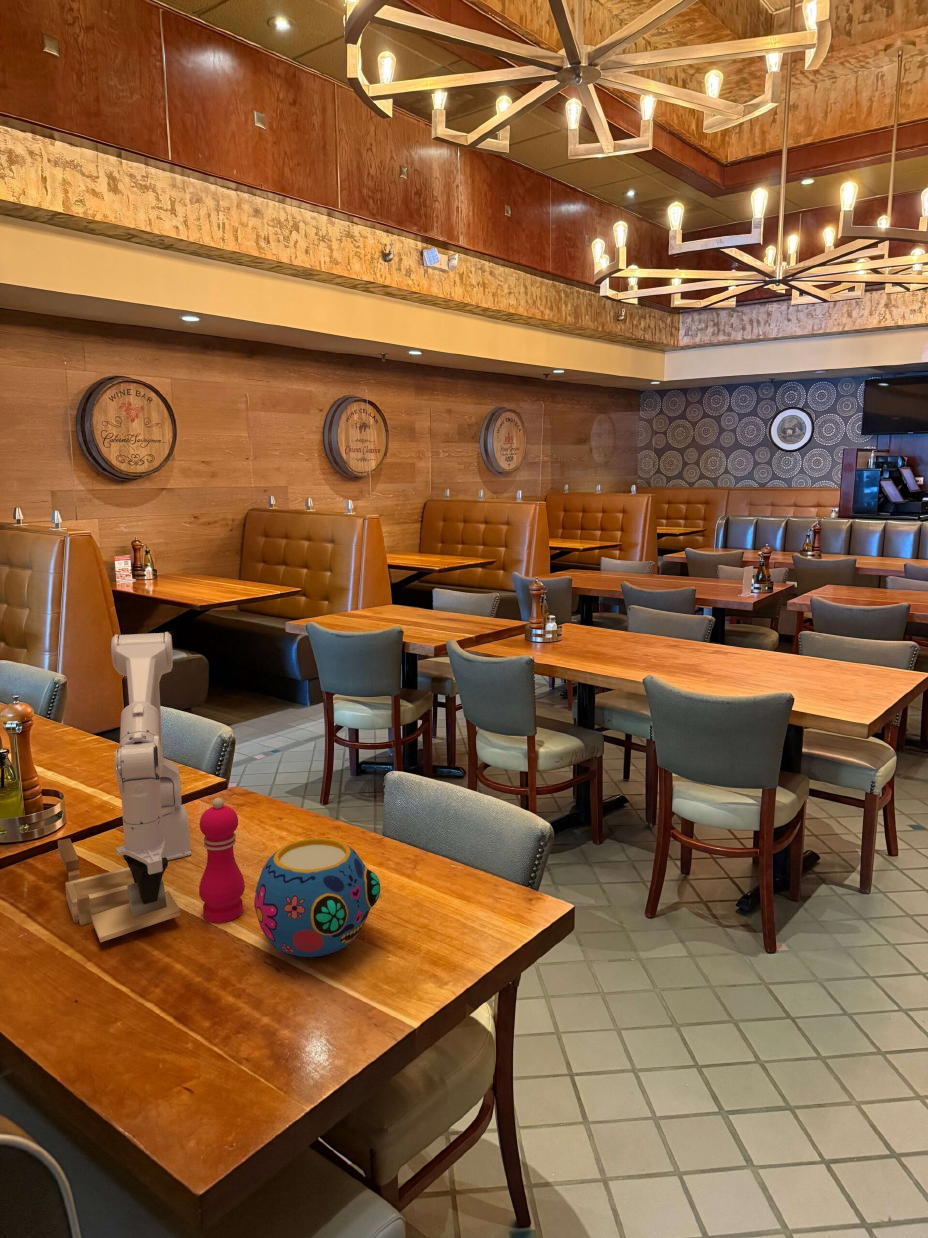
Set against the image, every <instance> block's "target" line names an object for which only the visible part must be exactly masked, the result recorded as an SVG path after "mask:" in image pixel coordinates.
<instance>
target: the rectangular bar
mask: <svg viewBox="0 0 928 1238" xmlns="http://www.w3.org/2000/svg"><path fill="white" fill-rule="evenodd" d="M57 847H58V848H57V850H58V852H59V855H60V859H61V860H62V864H63V866H64V869H65V871H66V873H69V872H73V871H77V870H80V860H79V857H78V854H77V852H76V850H75V847H74V845H73V843H72V840H71V838H65V839H64V838H63V839H58V840H57Z"/></svg>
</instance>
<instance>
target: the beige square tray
mask: <svg viewBox="0 0 928 1238" xmlns="http://www.w3.org/2000/svg"><path fill="white" fill-rule="evenodd" d="M67 873H68V874H67V875H68V881H66V882H65V884H64V885H65V896H66V905H67V906H68V910H69V911H70V915H71V917H72V921H73V923H74V924H76V923H78V924H79V925H80V926H85V925H89V924H91V923H92V920H91V915H94V914H97V913H100V912H104V911H107V910H110V909H113V908H116V907H119V906H122V905H125V904H128V903H130V902H129V895H128V888H127V885H130V884H134V879H133V875H132V872H131V870H130V868H129V867H125V868H120V869H117V870H112V871H108V872H104V873H100V874H96V875H91V876H88V877H82V878H81V873H80V869H78V870H73V871H69V872H67Z"/></svg>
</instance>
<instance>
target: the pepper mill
mask: <svg viewBox="0 0 928 1238" xmlns="http://www.w3.org/2000/svg"><path fill="white" fill-rule="evenodd" d="M224 802H225V801H224V799H223V798H221V797H215V798H214V799H213V800H212V804H211V805H212V806H211V807H209V808H207V809H206V810H204V812H203V813H202V815H201V816H200V818H199V819H200V820H199V829H200V832H201V834H202V835H204V837H203V846H204V848H205V849H206V851H207V854H206V855H207V859H206V861H207V862H206V865H205V869H204V871H203V874H202V876H201V878H200V881H199V887H198V895H199V898H200V899H201V901H202V902H203V905H202V912H203V913H202V915H203V918H204V919H205V920H206V921H208V922H211V923H215V924H216V923H217V924H221V923H228V922H231V921H233V920H235V919H237V918H239V917H240V916H241V915H242V913H243V912H244V911H243V910H244V906H243V905H244V904H243V899H242V896H243V895H244V893H245V889H246V884H245V879H244V876H243V873H242V871H241V869H240V867H239V866H238V864H237V861H236V859H235V853H234V846H235V845H236V843H237V839H236V836H237V834H236V833H235V831H236V830H237V828H238V826H239V817H238V813H236V810H235V809H234V808H232V807H231V806H228V805H225V803H224Z"/></svg>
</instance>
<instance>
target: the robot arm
mask: <svg viewBox="0 0 928 1238" xmlns="http://www.w3.org/2000/svg"><path fill="white" fill-rule="evenodd" d="M110 645H111V648H110V650H111V651H110V653H111V661H112V662H111V663H112V666H113V668H114V669H115V671H116V672H117V673H118V675H120V676H126V679H127V693H128V704H129V705H127V706H125V707H124V708H123V709H122V711H121V714H120V729H119V730H120V732H119V748H118V747H117V748H116V749H115V754H114V768H115V775H116V779H117V783H118V792H119V794H120V797H121V799H120V800H121V811H122V827H123V841H124V843H123V845H121V846H120V845H119V846H117V847H116V853H117V855H118V856H122V857H123V859H124V861H125V862H126V863H127V866H128V867H129V868H130V870H131V872H132V875H133V879H134V883H137V884H138V888H139V893H140V897H141V900H142V902H143V904H148V903H152V902H156V901H157V899H158V895H159V889H160V883H161V879H162V880H163V876H164V873H165V871H166V869H167V868H168V867H169V866H168V865H169V861H171V860H174V859H179V858H183V857H187V856H190V855H192V850H191V838H190V837H191V836H190V821H189V815H188V811H187V808H186V806H185V804H182V783H181V782H182V781H181V775H180V767H178V765H177V764H176V763H174V762H172V761H170V760H169V759H167V758H165V757H164V748H163V730H162V728H163V727H162V715H161V697H160V695H161V694H160V681H161V679H162V676H163V675H165V674H167V673H170V672H172V669H173V668H174V667H173V664H174V663H173V662H174V660H173V659H174V655H173V654H174V653H173V639H172V634H171V633H170V632H169V631H165V632H159V633H158V632H157V633H155V632H154V633H137V634H136V633H135V634H114V636H112V637H111V644H110ZM128 867H127V868H128Z"/></svg>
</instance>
